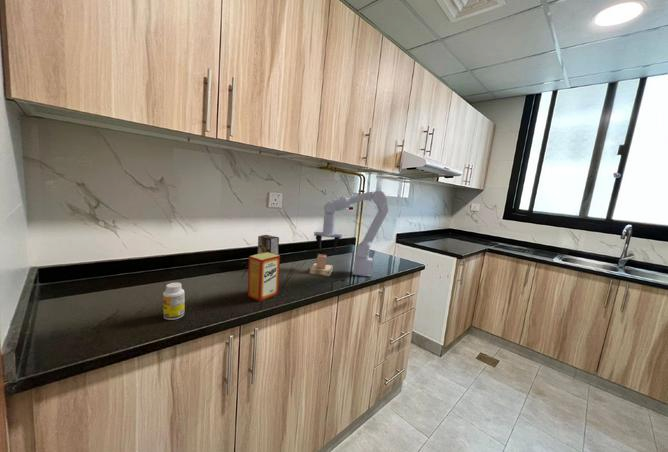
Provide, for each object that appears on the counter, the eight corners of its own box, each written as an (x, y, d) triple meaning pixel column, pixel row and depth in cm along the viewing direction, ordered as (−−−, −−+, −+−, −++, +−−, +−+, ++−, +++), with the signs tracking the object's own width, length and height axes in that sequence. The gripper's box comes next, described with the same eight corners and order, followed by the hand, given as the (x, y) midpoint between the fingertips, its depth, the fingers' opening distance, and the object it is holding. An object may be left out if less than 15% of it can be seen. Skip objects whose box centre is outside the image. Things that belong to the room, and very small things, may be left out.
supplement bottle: (163, 314, 80) (162, 282, 79) (183, 310, 83) (183, 280, 82) (163, 322, 76) (163, 289, 74) (185, 318, 79) (185, 286, 77)
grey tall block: (278, 267, 134) (280, 237, 132) (270, 270, 129) (271, 238, 126) (265, 263, 138) (266, 234, 136) (256, 266, 133) (257, 235, 130)
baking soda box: (266, 289, 105) (268, 251, 103) (278, 293, 102) (280, 254, 100) (247, 296, 97) (249, 255, 95) (259, 301, 94) (261, 259, 92)
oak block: (332, 270, 137) (332, 265, 137) (329, 277, 127) (329, 271, 127) (314, 268, 138) (314, 263, 138) (309, 274, 129) (310, 268, 128)
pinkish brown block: (325, 266, 134) (326, 255, 134) (325, 268, 130) (326, 257, 129) (316, 265, 135) (318, 254, 134) (316, 267, 130) (317, 256, 129)
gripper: (313, 224, 131) (311, 250, 133) (341, 227, 129) (339, 253, 131) (316, 223, 138) (314, 247, 140) (343, 225, 136) (341, 250, 138)
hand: (326, 250), depth 136 cm, fingers open, 7 cm apart
